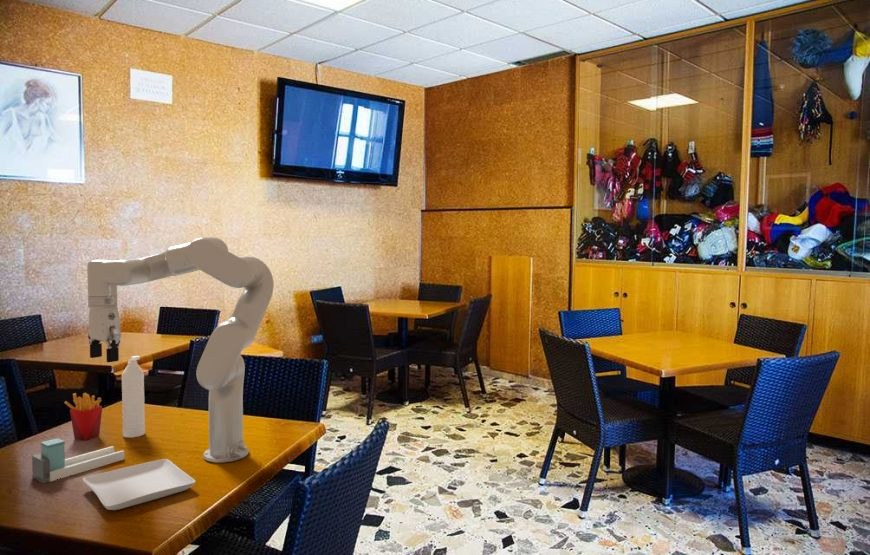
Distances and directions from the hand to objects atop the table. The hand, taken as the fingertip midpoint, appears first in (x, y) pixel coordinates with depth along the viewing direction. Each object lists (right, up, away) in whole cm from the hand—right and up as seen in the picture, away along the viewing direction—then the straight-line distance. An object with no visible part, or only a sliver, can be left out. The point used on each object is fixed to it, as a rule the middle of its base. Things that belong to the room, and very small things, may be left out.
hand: (104, 359), depth 173 cm
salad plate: (+22, -31, -23) cm, 45 cm away
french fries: (-13, -28, +13) cm, 33 cm away
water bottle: (-1, -27, +19) cm, 33 cm away
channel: (-1, -29, -10) cm, 31 cm away
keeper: (-5, -28, -15) cm, 32 cm away
